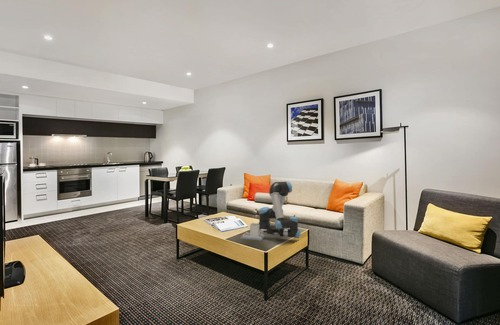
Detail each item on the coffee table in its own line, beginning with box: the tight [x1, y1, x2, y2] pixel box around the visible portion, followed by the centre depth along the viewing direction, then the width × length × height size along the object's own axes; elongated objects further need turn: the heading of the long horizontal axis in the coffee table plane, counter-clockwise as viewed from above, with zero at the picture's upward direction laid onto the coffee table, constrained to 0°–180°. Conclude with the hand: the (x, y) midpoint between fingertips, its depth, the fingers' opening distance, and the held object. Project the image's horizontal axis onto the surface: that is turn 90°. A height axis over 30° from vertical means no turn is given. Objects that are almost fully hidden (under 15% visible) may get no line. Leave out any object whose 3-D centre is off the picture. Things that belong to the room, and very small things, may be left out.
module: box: [249, 222, 261, 237], centre depth 261 cm, size 6×8×13 cm
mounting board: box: [239, 231, 266, 242], centre depth 262 cm, size 16×22×2 cm
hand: (260, 230), depth 259 cm, fingers closed
